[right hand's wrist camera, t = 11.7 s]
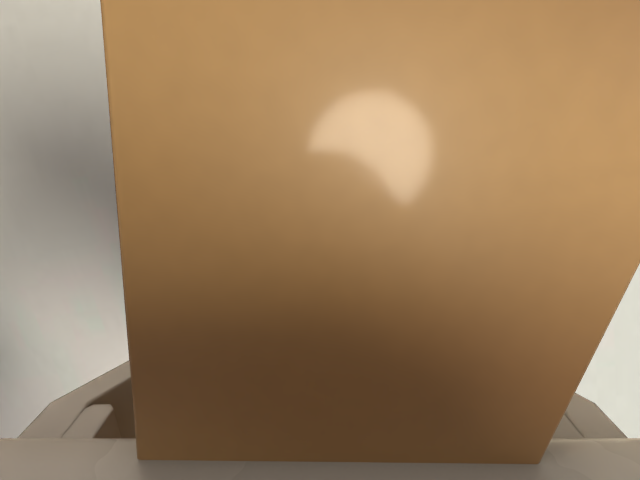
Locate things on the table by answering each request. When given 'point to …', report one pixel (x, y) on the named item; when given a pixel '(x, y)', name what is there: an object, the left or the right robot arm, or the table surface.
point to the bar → (369, 221)
